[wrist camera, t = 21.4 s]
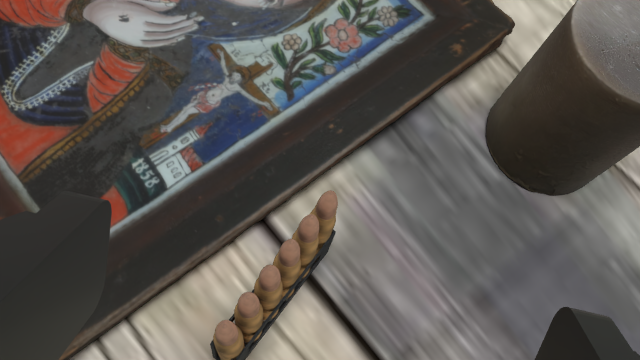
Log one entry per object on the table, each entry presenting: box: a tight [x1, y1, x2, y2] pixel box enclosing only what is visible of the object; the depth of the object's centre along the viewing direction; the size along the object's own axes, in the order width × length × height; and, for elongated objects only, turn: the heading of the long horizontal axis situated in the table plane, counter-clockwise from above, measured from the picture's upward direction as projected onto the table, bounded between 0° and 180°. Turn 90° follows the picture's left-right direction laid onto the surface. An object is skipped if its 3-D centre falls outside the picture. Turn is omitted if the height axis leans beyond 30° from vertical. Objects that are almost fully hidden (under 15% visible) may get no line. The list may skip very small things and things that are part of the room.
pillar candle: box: [486, 0, 640, 195], centre depth 41 cm, size 10×10×15 cm
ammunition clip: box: [210, 190, 338, 360], centre depth 35 cm, size 11×2×12 cm, turn 144°
